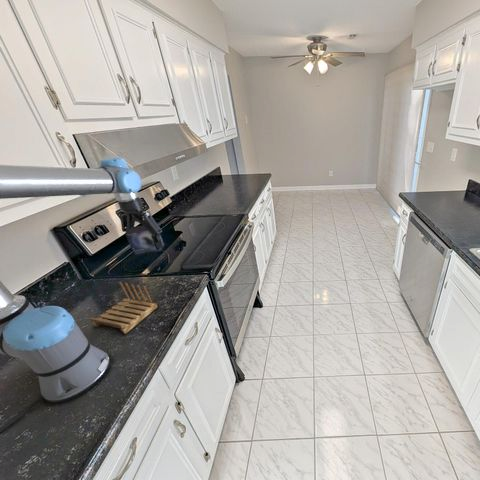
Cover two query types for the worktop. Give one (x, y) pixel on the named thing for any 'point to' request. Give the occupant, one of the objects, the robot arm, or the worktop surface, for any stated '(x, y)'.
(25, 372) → the worktop surface
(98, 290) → the worktop surface
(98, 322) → the dish rack
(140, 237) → the small box
